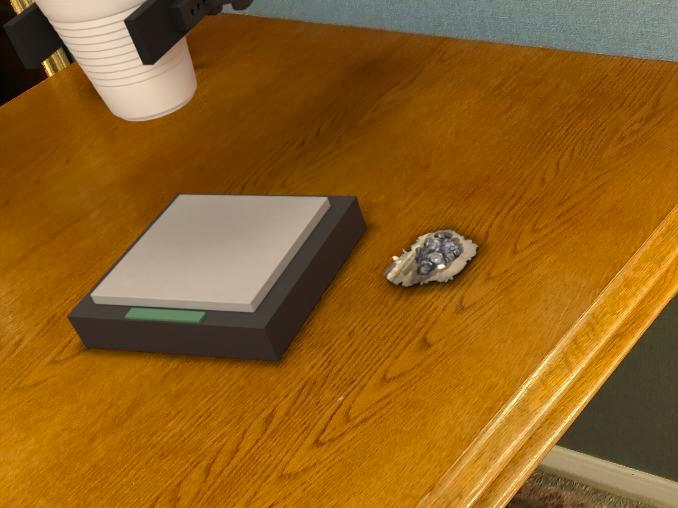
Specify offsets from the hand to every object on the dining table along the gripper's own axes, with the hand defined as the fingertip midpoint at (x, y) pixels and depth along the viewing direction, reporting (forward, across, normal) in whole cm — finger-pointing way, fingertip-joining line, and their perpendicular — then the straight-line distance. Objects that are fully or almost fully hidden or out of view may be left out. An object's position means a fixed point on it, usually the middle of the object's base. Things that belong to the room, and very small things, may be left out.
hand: (77, 45), depth 62 cm
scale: (0, -3, -18) cm, 18 cm away
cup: (-5, 0, -6) cm, 8 cm away
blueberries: (-4, -18, -18) cm, 26 cm away
